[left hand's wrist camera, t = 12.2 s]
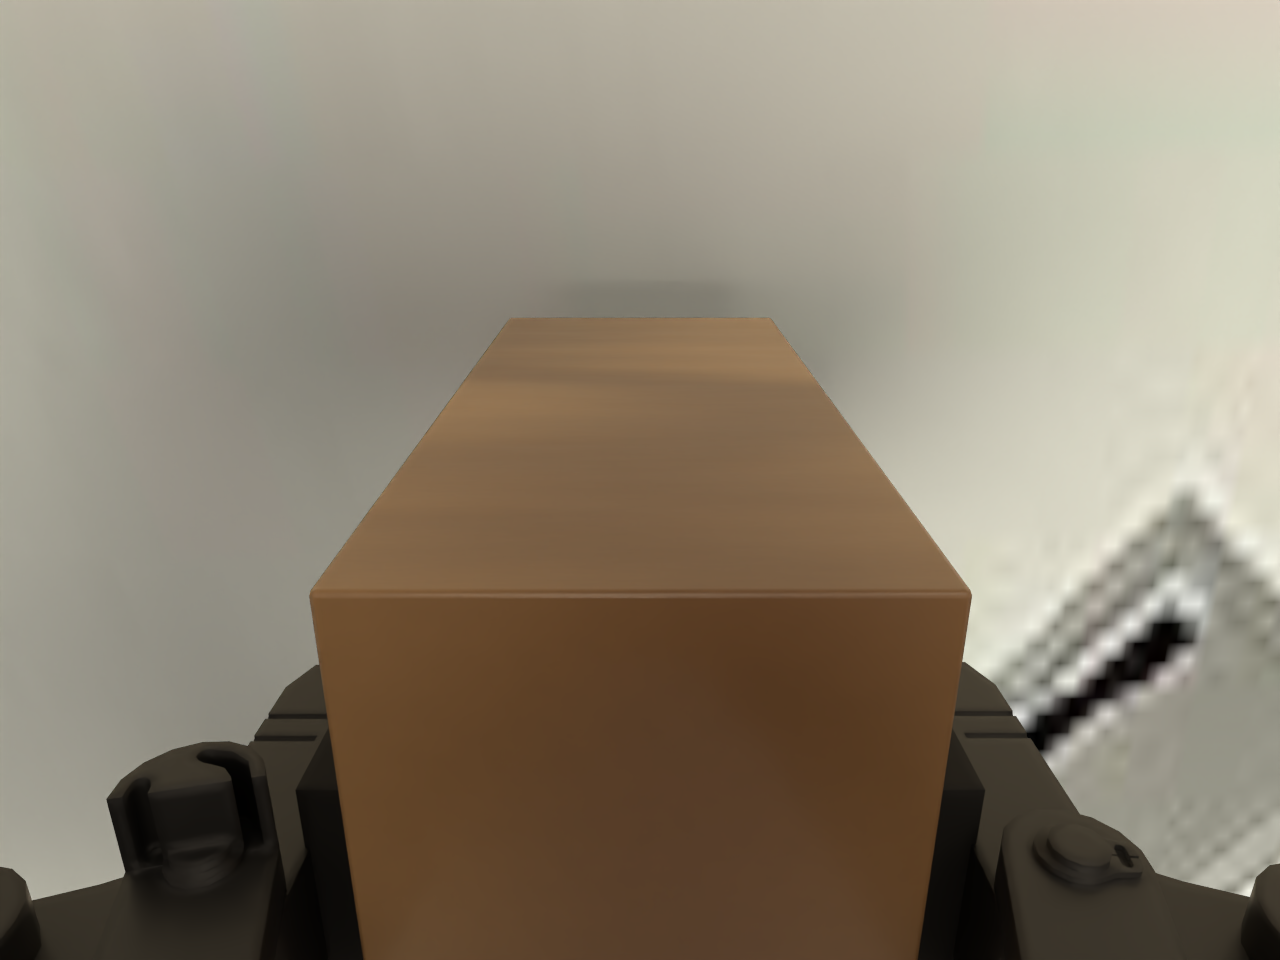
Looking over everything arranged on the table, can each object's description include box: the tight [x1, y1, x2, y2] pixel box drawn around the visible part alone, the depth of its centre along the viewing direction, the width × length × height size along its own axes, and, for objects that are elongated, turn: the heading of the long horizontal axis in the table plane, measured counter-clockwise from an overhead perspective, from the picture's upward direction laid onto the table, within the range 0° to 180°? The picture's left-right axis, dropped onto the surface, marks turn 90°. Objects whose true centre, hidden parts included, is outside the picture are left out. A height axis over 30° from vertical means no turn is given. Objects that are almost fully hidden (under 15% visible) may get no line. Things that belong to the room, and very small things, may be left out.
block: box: [309, 318, 972, 960], centre depth 13 cm, size 5×8×11 cm, turn 0°
